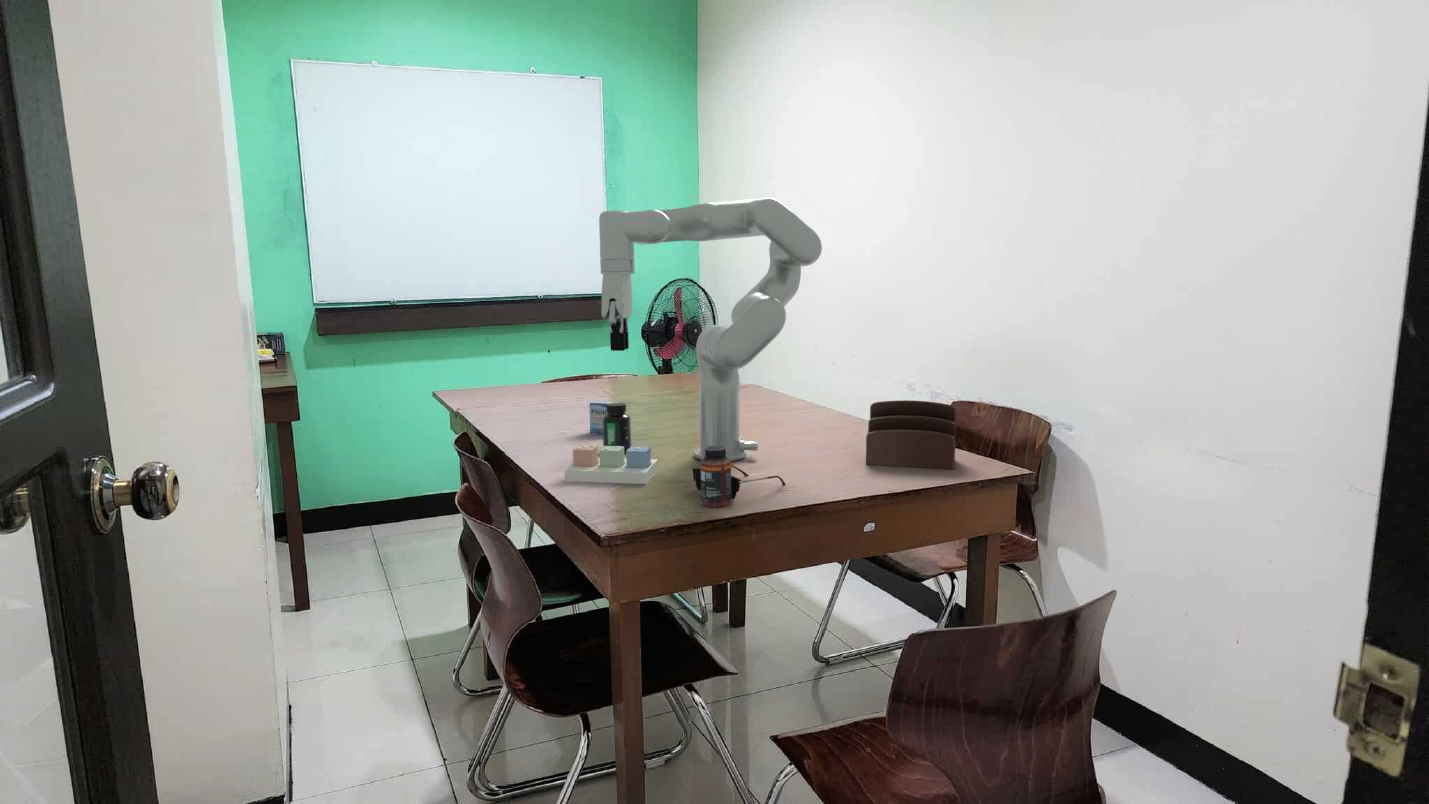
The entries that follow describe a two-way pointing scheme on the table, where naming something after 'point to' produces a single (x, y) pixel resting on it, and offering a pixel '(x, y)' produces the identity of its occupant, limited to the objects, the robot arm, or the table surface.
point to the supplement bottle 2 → (715, 478)
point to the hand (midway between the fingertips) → (619, 349)
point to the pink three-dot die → (585, 456)
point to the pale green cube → (612, 456)
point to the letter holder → (911, 434)
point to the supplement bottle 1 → (617, 426)
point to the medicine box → (598, 415)
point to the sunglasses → (734, 481)
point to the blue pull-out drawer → (638, 457)
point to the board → (611, 474)
